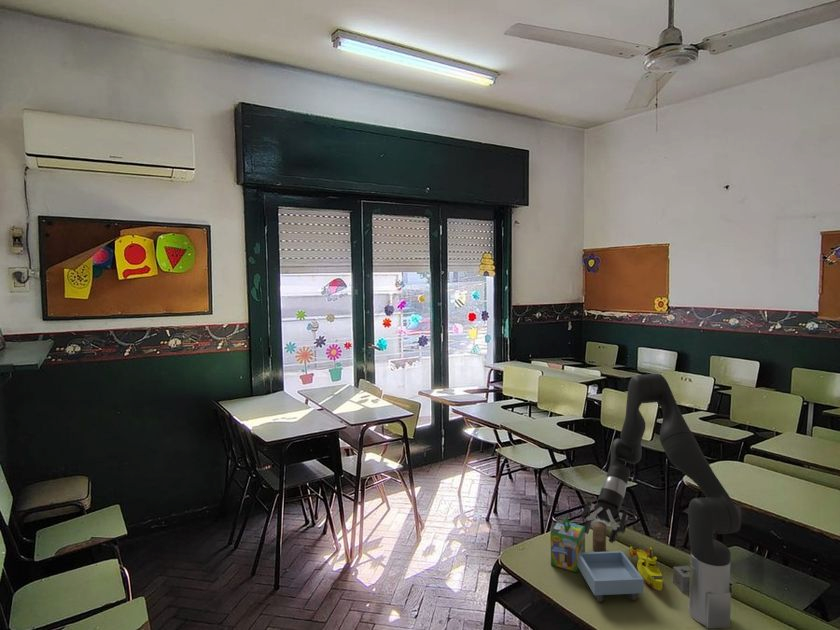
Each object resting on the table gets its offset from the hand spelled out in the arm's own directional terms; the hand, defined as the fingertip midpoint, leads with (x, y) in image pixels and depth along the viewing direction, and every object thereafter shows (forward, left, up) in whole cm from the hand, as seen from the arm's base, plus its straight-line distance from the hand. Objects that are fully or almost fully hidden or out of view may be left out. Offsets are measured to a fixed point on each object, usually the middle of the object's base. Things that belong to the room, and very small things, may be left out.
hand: (598, 537), depth 166 cm
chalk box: (-5, +12, -5) cm, 14 cm away
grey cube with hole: (-20, -19, -5) cm, 28 cm away
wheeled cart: (-19, +4, -5) cm, 20 cm away
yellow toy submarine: (-15, -10, -5) cm, 19 cm away
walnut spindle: (+1, -1, -5) cm, 5 cm away
